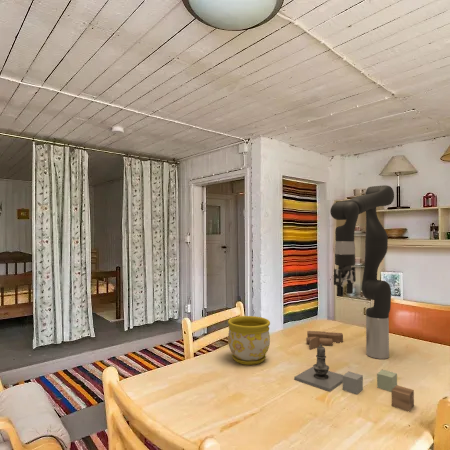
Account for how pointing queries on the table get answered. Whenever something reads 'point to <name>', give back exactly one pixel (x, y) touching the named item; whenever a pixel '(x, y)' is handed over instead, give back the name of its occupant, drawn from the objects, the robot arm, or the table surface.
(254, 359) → the flowerpot
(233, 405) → the table surface
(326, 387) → the grey tile
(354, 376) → the grey block
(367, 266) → the robot arm
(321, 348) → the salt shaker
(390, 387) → the sage block
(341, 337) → the wooden block set
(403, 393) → the walnut block
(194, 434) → the table surface
